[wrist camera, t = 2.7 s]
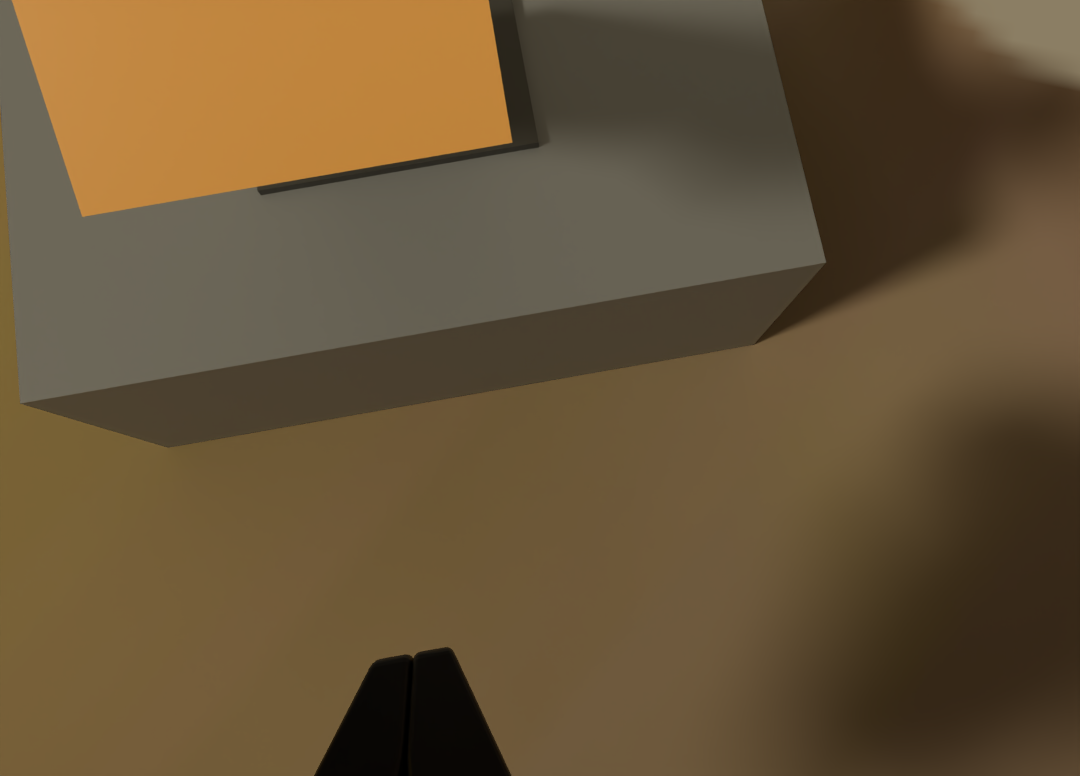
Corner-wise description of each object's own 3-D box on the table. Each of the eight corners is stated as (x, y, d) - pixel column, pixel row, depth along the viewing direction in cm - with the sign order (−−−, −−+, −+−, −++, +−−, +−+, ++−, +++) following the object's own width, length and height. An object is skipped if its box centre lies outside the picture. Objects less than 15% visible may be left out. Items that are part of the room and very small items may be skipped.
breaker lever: (492, 109, 16) (512, 142, 8) (284, 145, 16) (82, 217, 8) (466, -43, 15) (458, -188, 7) (246, -6, 15) (-22, -105, 7)
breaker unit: (753, 344, 22) (829, 258, 16) (168, 447, 22) (13, 401, 15) (668, -33, 24) (705, -241, 18) (130, 58, 23) (-21, -119, 17)
